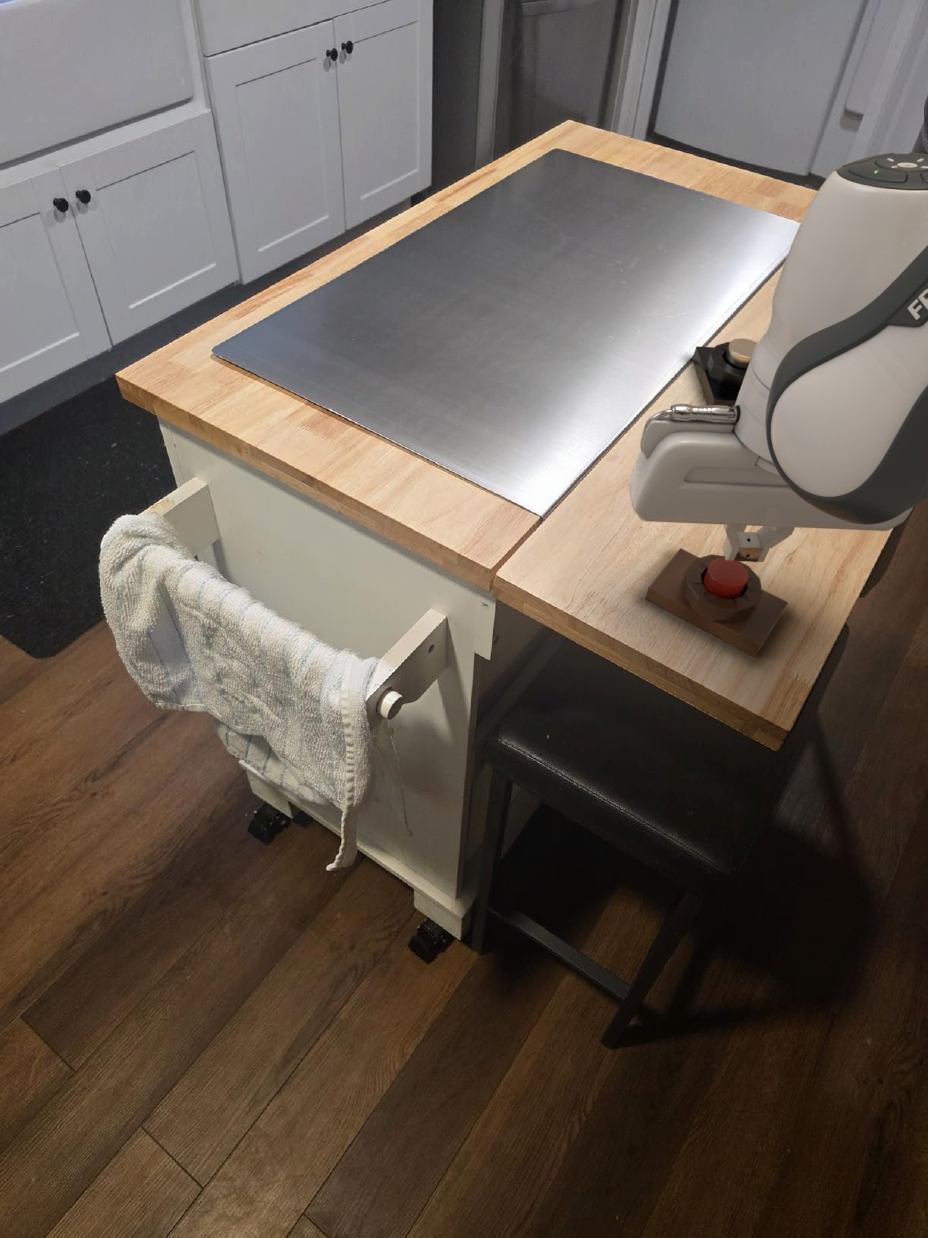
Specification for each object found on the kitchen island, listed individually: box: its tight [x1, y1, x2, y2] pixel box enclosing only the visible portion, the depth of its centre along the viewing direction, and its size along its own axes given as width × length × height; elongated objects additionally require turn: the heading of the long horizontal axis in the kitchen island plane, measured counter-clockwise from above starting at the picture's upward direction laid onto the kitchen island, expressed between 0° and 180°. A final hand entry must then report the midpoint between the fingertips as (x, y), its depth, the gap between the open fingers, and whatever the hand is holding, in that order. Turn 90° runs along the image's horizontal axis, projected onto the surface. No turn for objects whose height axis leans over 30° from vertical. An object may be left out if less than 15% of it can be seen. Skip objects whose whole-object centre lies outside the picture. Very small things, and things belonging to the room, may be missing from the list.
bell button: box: [704, 558, 748, 599], centre depth 71 cm, size 3×3×2 cm
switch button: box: [724, 337, 758, 371], centre depth 91 cm, size 4×4×2 cm
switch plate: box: [691, 341, 746, 406], centre depth 93 cm, size 7×10×4 cm
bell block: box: [644, 547, 789, 657], centre depth 72 cm, size 10×6×3 cm, turn 54°
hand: (742, 556), depth 69 cm, fingers closed
